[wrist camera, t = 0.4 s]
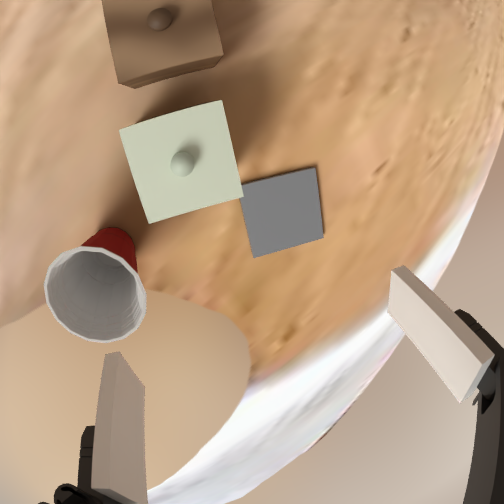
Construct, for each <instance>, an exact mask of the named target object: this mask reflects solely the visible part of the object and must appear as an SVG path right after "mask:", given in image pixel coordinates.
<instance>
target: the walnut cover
mask: <svg viewBox="0 0 504 504" xmlns="http://www.w3.org/2000/svg"><path fill="white" fill-rule="evenodd" d="M102 5H103V11H104V16H105V22H106V27H107V33H108V38H109V43H110V47H111V52H112V57H113V61H114V66H115V70H116V75H117V79H118V83H119V84H122V85H125V86H128V87H131V88H134V89H136V88H139V87H142V86H145V85H148V84H151V83H155V82H158V81H161V80H165V79H168V78H172V77H175V76H179V75H183V74H187V73H191V72H195V71H199V70H203V69H208V68H212V67H214V66H215V65H216V64H217V62H218V61H219V60H220V58H221V57H222V56H223V55H224V53H223V49H222V45H221V40H220V36H219V32H218V27H217V23H216V19H215V15H214V10H213V6H212V2H211V0H102Z"/></svg>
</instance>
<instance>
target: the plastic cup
mask: <svg viewBox="0 0 504 504" xmlns="http://www.w3.org/2000/svg"><path fill="white" fill-rule="evenodd" d="M44 289H45V296H46V303H47V305H48V306H49V308H50V310H51V312H52V313H53V315H54V317H55V319H56V320H57V321H58V322H59V323H60V324H61V325H62V326H63V327H65V328H66V329H67V330H68V331H69V332H70V333H72V334H74V335H76V336H78V337H80V338H83V339H85V340H87V341H93V342H102V343H109V342H113V341H117V340H121V339H125V338H126V337H127V336H128V335H130V334H131V333H132V332H134V331H135V330H136V329H138V328H139V325H140V324H141V321H142V320H143V318H144V316H145V314H146V292H145V290H144V287H143V285H142V283H141V280H140V278H139V275H138V272H137V262H136V256H135V247H134V244H133V242H132V239H131V237H130V236H129V235H128V234H127V233H126V232H125V231H123V230H121V229H119V228H112V227H109V228H105V229H102V230H100V231H98V232H97V233H96V234H95V235H94V236H92V237H90V238H89V239H88V240H87V241H86V242H84V243H83V244H82V245H81V246H80V247H77V248H74V249H71V250H68V251H66V252H63V253H61V254H60V255H59V256H58V257H57V258H56V259H55V260H54V261H53V263H52V264H51V265H50V266H49V268H48V271H47V274H46V278H45V282H44Z"/></svg>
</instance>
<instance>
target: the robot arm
mask: <svg viewBox="0 0 504 504" xmlns="http://www.w3.org/2000/svg"><path fill="white" fill-rule="evenodd" d="M388 313H389V314H390V316H391V317H392V318H393V319H394V320H395V322H396V323H397V324H398V325H399V326H400V328H401V329H402V330H403V331H404V332H405V334H406V335H407V336H408V337H409V339H410V340H411V341H412V342H413V343H414V345H415V346H416V347H417V348H418V350H419V351H420V352H421V353H422V355H423V356H424V357H425V358H426V360H427V361H428V362H429V364H430V365H431V366H432V367H433V369H434V370H435V371H436V373H438V375H439V376H440V378H441V379H442V380H443V382H444V383H445V384H446V386H447V387H448V388H449V390H450V391H451V392H452V394H453V395H454V396H455V398H456V399H457V400H458V402H459V403H461V402H463V401H464V400H465V399H467V398H468V397H470V396H471V395H472V394H473V392H474V391H475V389H476V388H478V389H479V390H480V391H479V393H478V395H477V396H476V398H475V399H474V401H473V405H475V404H476V402H477V401H478V411H477V424H476V433H475V442H474V450H473V456H472V463H471V469H470V474H469V479H468V484H467V489H466V493H465V497H464V501H463V504H504V348H502V347H501V346H500V344H499V343H498V342H497V341H496V340H495V339H494V338H493V337H492V336H491V335H490V334H489V333H488V332H487V331H486V330H485V329H483V328H482V326H481V325H480V324H479V323H477V321H476V320H475V319H474V318H473V317H472V316H471V315H470V314H469V313H467V312H465V311H463V310H461V309H459V310H457V311H455V312H453V311H452V310H451V309H450V308H449V307H448V306H447V305H446V304H445V303H444V302H443V301H442V300H441V299H440V298H439V297H438V296H437V295H436V294H435V293H434V292H433V291H432V290H430V289H429V288H428V287H427V286H426V285H425V284H424V283H423V282H422V281H421V280H420V279H419V278H417V277H416V276H415V275H414V274H413V273H412V272H411V271H410V270H409V269H408V268H406V267H405V266H404V265H403V266H401V267H398V268H395V269H393V270H392V271H391V283H390V294H389V303H388ZM144 394H145V386H144V385H143V384H142V382H141V381H140V380H139V378H138V377H137V376H136V374H135V373H134V372H133V370H132V369H131V367H130V366H129V365H128V363H127V362H126V360H125V359H124V357H123V356H122V354H121V353H120V352H114V353H110V354H105V359H104V365H103V371H102V377H101V384H100V391H99V398H98V406H97V414H96V423H95V426H87V427H86V428H85V430H84V432H83V435H82V437H81V447H80V448H81V450H80V458H79V470H78V486H77V487H76V486H74V485H71V484H62V485H60V486H59V487H58V488H57V489H56V491H55V494H54V503H55V504H148V500H147V488H146V469H145V441H144ZM38 504H49V503H46V502H40V503H38Z"/></svg>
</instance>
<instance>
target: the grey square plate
mask: <svg viewBox="0 0 504 504" xmlns="http://www.w3.org/2000/svg"><path fill="white" fill-rule="evenodd" d="M241 186H242V191H243V195H244V197H241V198H239V199H240V203H241V207H242V212H243V216H244V220H245V225H246V229H247V233H248V238H249V242H250V246H251V251H252V255H253V258H256V257H259V256H263V255H266V254H270V253H273V252H277V251H280V250H284V249H287V248H291V247H294V246H298V245H301V244H304V243H308V242H311V241H315V240H318V239H322V238H323V228H322V218H321V209H320V201H319V192H318V184H317V177H316V169H315V167H311V168H306V169H302V170H297V171H293V172H289V173H284V174H280V175H276V176H272V177H268V178H264V179H260V180H256V181H252V182H248V183H244V184H241Z"/></svg>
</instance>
